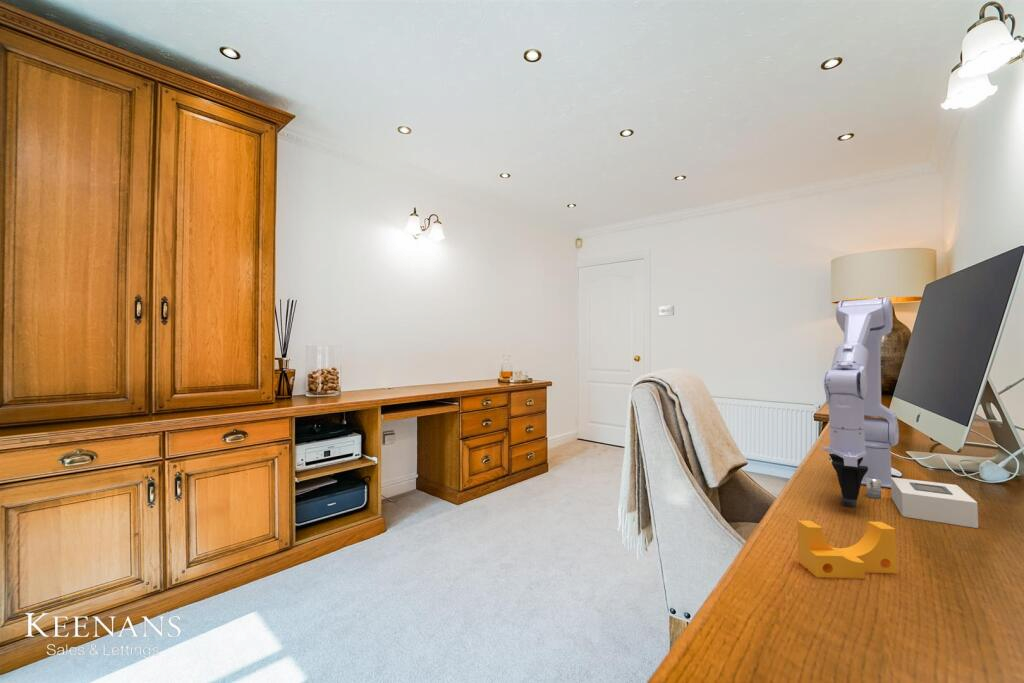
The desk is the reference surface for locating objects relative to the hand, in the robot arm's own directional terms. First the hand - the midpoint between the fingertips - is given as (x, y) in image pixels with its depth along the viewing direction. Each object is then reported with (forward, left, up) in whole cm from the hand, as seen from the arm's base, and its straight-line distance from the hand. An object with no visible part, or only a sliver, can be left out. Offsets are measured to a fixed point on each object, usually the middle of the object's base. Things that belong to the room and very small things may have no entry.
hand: (848, 493), depth 87 cm
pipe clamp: (+32, -2, -3) cm, 33 cm away
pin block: (-4, +13, -2) cm, 14 cm away
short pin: (-9, +5, -2) cm, 11 cm away
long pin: (0, 0, -2) cm, 2 cm away
